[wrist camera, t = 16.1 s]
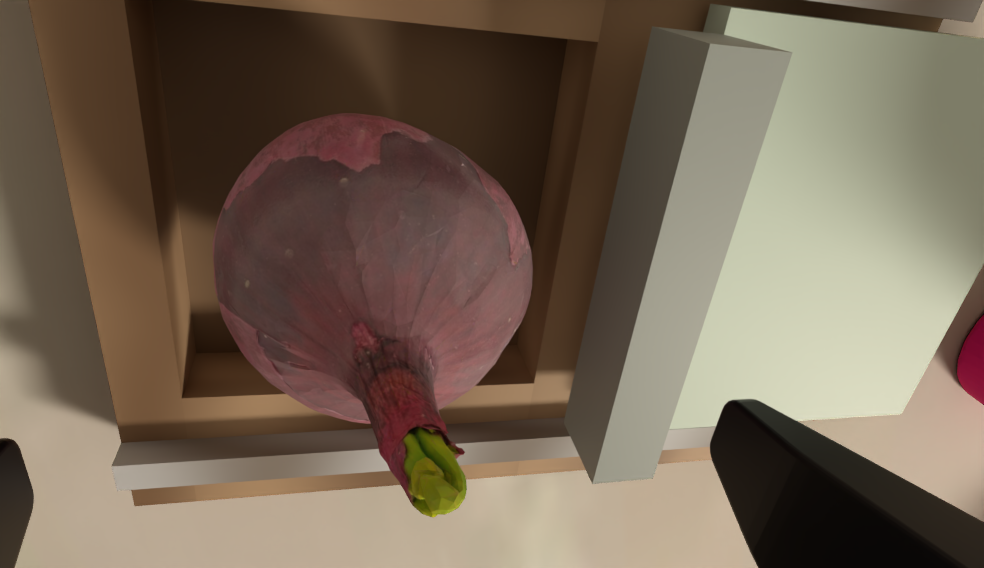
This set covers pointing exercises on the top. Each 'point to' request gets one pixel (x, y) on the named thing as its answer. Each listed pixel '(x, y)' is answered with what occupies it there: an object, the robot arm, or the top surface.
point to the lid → (780, 229)
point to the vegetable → (374, 283)
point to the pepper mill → (973, 362)
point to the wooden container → (317, 93)
